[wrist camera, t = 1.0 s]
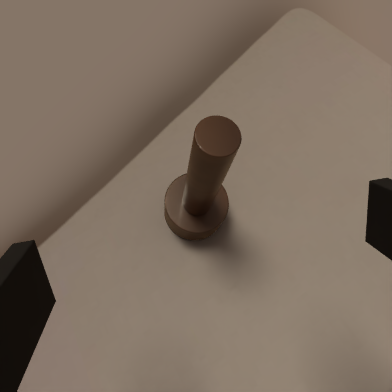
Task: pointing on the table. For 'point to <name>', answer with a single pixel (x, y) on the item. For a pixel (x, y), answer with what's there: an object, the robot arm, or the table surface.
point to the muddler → (203, 181)
